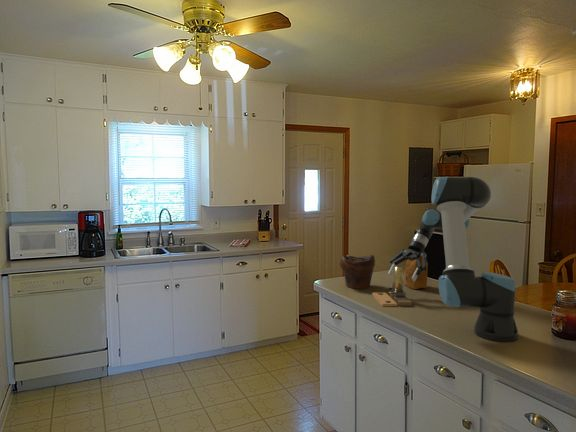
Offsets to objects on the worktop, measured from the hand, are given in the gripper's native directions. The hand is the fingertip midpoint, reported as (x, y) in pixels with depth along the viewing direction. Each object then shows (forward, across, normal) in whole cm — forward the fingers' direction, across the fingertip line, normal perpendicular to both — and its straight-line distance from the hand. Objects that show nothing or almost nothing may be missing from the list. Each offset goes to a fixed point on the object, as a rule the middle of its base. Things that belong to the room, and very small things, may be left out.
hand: (400, 277), depth 211 cm
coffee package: (-11, +8, -26) cm, 30 cm away
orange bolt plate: (+14, +3, -1) cm, 14 cm away
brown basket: (+6, +30, -10) cm, 32 cm away
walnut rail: (+10, -2, -5) cm, 11 cm away
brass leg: (+8, 0, -3) cm, 9 cm away
